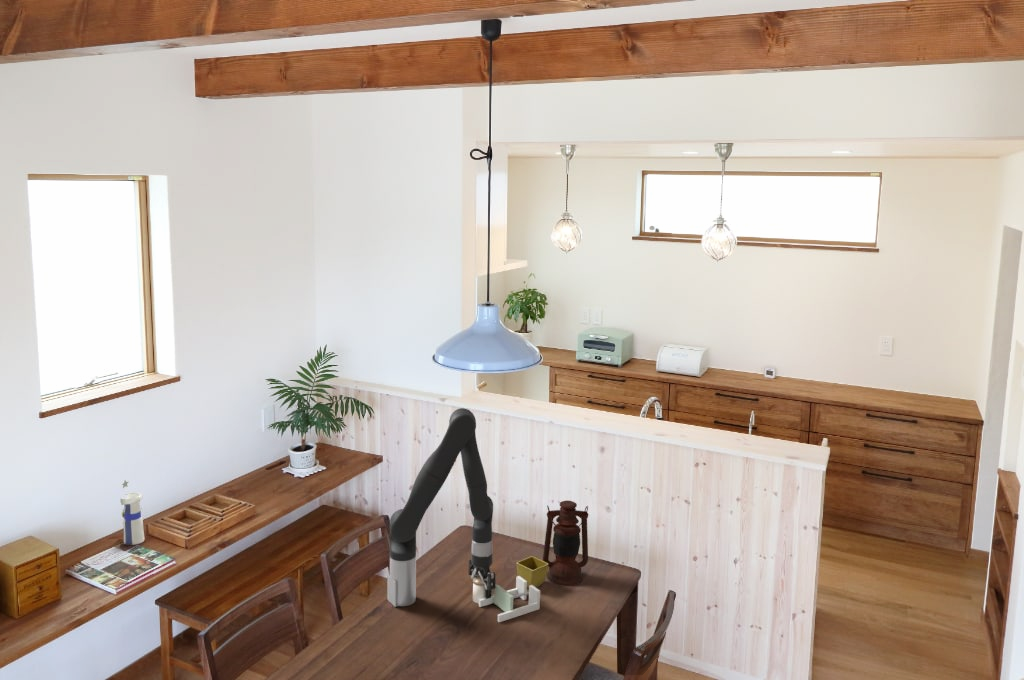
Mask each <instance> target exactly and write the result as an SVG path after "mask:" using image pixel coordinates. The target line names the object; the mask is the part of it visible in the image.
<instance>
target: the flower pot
mask: <svg viewBox="0 0 1024 680" xmlns="http://www.w3.org/2000/svg"><path fill="white" fill-rule="evenodd" d="M548 565H549V564H548V563H546V562H544V561H543V559H539V558H537V557H535V556H532V555H531V556H529V557H526V558H524V559H522V560H518V561H517V562H516V572H517V576H520V577H521V578H523V579H524V580H526V581H527V589H529V586H530V585H533V586H534V587H536V588H538V587H540V586H541V585H542V584H544V582H545V579H546V578H547V572H548V571H549V567H548Z"/></svg>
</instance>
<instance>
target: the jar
mask: <svg viewBox="0 0 1024 680" xmlns="http://www.w3.org/2000/svg"><path fill="white" fill-rule="evenodd" d="M484 580H488V578H486V579H484ZM487 586H488V582H487ZM482 598H485V586H484V584H483V583H482V580H481V579H480V578H479V577H477V576H476V577H474V578H473V588H472V602H474V603H475V604H479V599H482Z"/></svg>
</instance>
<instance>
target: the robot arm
mask: <svg viewBox="0 0 1024 680" xmlns="http://www.w3.org/2000/svg"><path fill="white" fill-rule="evenodd" d="M448 422H449V423H448V428H447V429H446V432H445V434H444V436H443V438H442V440H441V442H440V443H439V445H438V447H437V448H436V449H435V450H434V451H433V452H432V453H431V454H430V456H429V457H427V459H426V461H424V464H423V465H422V467H421V468H420V470H419V472H418V474H417V476H416V478H415V480H414V483H413V485H412V489H411V491H410V494H409V497H408V499H407V502H406V503H405V505H404V506H403V508H402V509H401V508H400V509H397V510H396V511H394V512H393V513H392V515H391V516H390V519H389V574H388V575H387V581H386V582H387V589H386V590H387V592H386V594H387V601H388V603H390V604H391V605H392V606H393V607H394V608H396V607H409V606H411V605H413V604H414V603H415V602H416V600H417V598H416V596H417V591H416V589H417V584H416V583H417V531H418V529H419V526H420V524H421V522H422V520H423V517H424V516H425V514H426V512H427V510H428V508H429V507H430V506H431V504H432V502H433V501H435V500H434V499H435V498H436V496H437V495H438V494H439V491H440V490H441V488H442V487H443V486H444V484H445V482H446V480H447V478H448V476H449V474H450V473H451V471H452V469H453V467H454V465H455V463H456V460H457V458H458V457H459V454H460V456H461V462H462V469H463V474H464V479H465V484H466V488H467V490H468V500H469V508H470V513H471V514H472V515H471V516H472V517H473V525H472V529H471V533H472V534H471V550H470V551H471V557H470V559H469V560H468V570H467V571H468V573H467V574H468V575H469V576H470V579H471V585H472V587H471V588H472V589H473V578H474V577H476V576H477V577H479V578H480V579H481V580H482V583H483V584H484V586H485V598H486V599H488V598H491V596H492V593H493V592H492V590H494V589H495V588H496V584H497V583H496V572H493V571H491V570H490V567H491V565H493V556H494V555H493V552H494V551H493V547H494V545H493V525H492V523H493V513H494V502H493V500H492V498H491V497H490V496H489V495H488V483H487V478H486V473H485V469H484V466H483V463H482V459H481V455H480V452H479V447H478V443H477V436H476V429H477V421H476V417H475V415H474V413H473V412H472V411H471V410H470V409H468V408H464V407H461V408H457V409H455V410H454V411H452V413H451V415H450V416H449V421H448ZM486 578H488V580H484V579H486ZM487 582H488V586H487Z"/></svg>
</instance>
